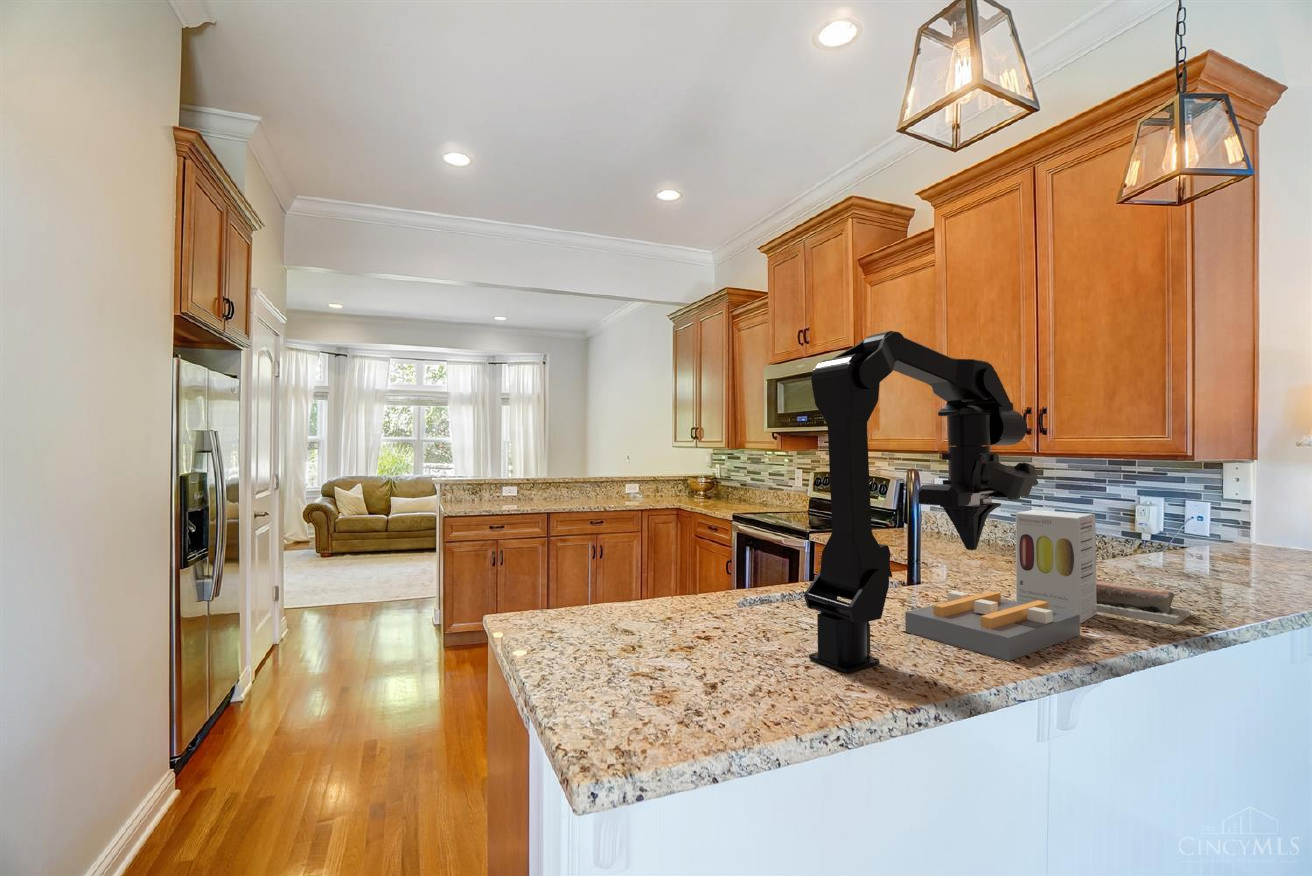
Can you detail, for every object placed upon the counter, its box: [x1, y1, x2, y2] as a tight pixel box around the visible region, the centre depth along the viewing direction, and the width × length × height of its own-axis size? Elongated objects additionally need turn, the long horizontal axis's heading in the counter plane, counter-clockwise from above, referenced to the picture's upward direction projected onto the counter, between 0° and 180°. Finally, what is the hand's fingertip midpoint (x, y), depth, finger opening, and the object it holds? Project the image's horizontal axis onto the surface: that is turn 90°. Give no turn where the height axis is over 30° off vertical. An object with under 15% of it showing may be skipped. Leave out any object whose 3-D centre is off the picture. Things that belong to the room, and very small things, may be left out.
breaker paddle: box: [974, 599, 998, 615], centre depth 88 cm, size 2×2×2 cm
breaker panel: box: [904, 590, 1081, 662], centre depth 88 cm, size 20×15×5 cm
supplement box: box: [1015, 509, 1097, 624], centre depth 99 cm, size 10×9×17 cm
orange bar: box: [981, 600, 1048, 629], centre depth 85 cm, size 16×1×1 cm, turn 122°
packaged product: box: [1096, 579, 1192, 626], centre depth 102 cm, size 18×5×10 cm
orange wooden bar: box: [932, 591, 1002, 617], centre depth 91 cm, size 16×1×1 cm, turn 122°
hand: (971, 549), depth 89 cm, fingers closed
